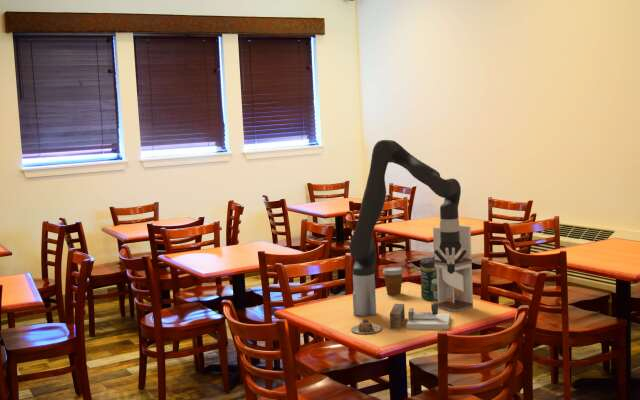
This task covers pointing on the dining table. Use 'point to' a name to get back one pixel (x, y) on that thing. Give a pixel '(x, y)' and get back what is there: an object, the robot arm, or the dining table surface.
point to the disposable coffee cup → (393, 280)
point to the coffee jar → (428, 279)
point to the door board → (428, 322)
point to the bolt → (427, 313)
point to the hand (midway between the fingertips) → (451, 273)
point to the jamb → (397, 316)
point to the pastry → (365, 327)
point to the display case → (455, 275)
